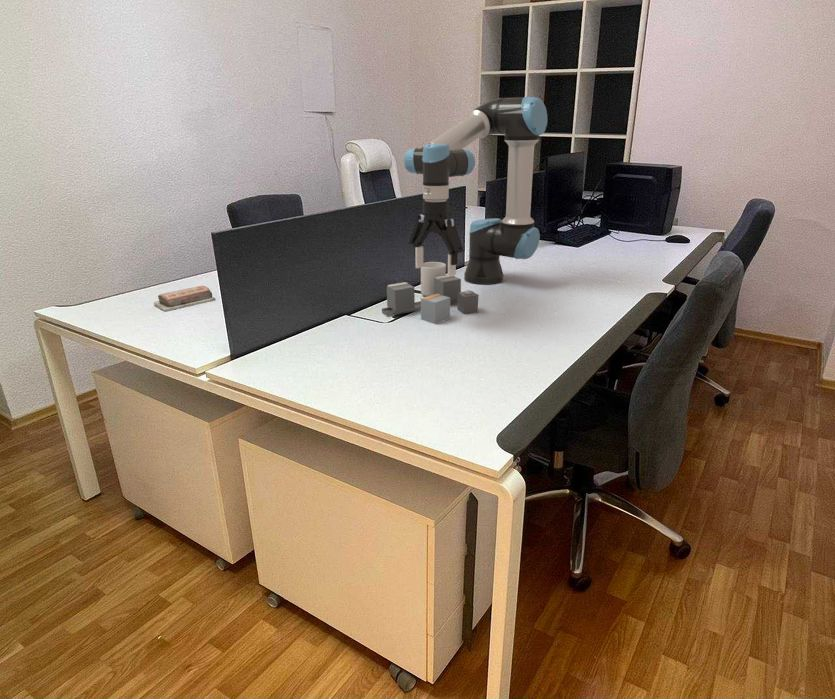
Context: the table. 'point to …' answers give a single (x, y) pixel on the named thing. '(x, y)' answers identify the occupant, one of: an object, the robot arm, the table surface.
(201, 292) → the packaged product
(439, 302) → the block
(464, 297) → the block
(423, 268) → the mug
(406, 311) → the rail
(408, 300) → the mounted modules
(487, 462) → the table surface
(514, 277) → the table surface
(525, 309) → the table surface
